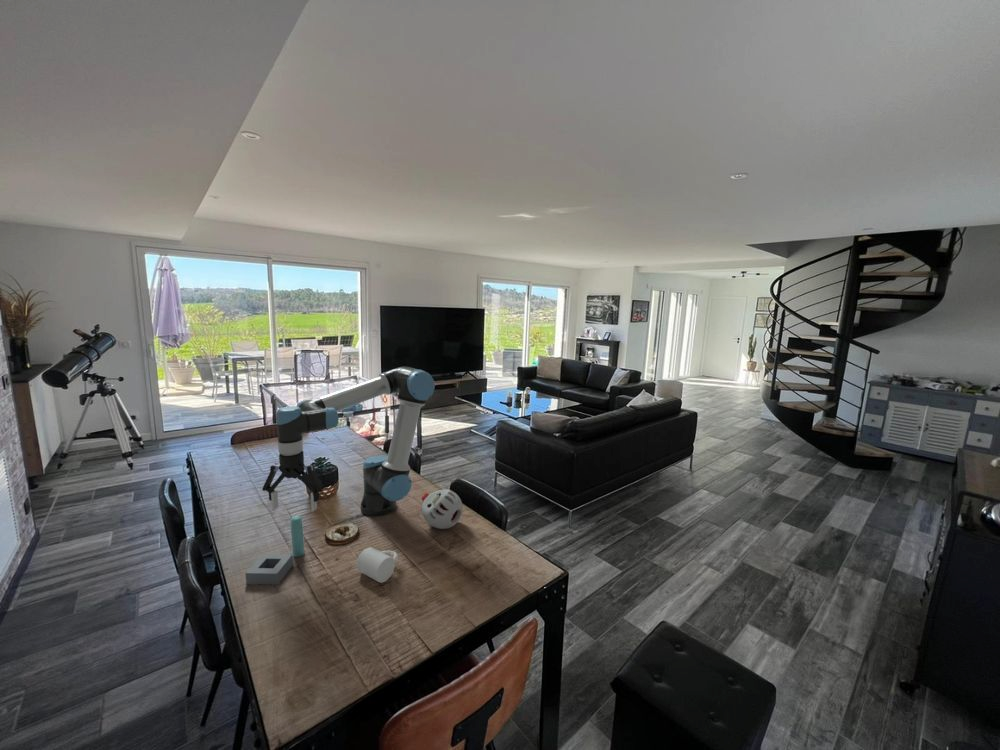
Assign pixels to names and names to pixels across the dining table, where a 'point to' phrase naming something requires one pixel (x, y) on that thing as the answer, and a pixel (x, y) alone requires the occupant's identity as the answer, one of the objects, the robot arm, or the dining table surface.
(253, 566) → the socket
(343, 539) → the round brown cream disc
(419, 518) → the dining table surface
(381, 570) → the mug
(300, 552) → the peg
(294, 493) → the dining table surface
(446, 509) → the decorative object
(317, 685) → the dining table surface
